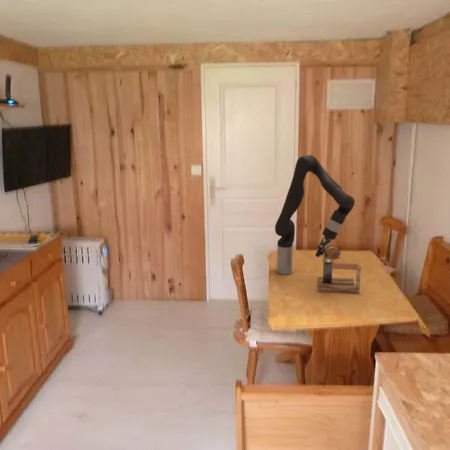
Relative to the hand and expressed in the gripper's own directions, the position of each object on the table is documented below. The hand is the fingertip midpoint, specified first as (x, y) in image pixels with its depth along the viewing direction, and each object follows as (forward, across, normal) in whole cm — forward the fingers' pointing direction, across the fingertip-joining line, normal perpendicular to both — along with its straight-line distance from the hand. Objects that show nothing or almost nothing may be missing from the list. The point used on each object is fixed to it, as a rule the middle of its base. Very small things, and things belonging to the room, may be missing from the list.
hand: (318, 255), depth 251 cm
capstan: (+11, -16, +15) cm, 24 cm away
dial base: (+13, -14, +15) cm, 24 cm away
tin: (+9, -60, 0) cm, 61 cm away
